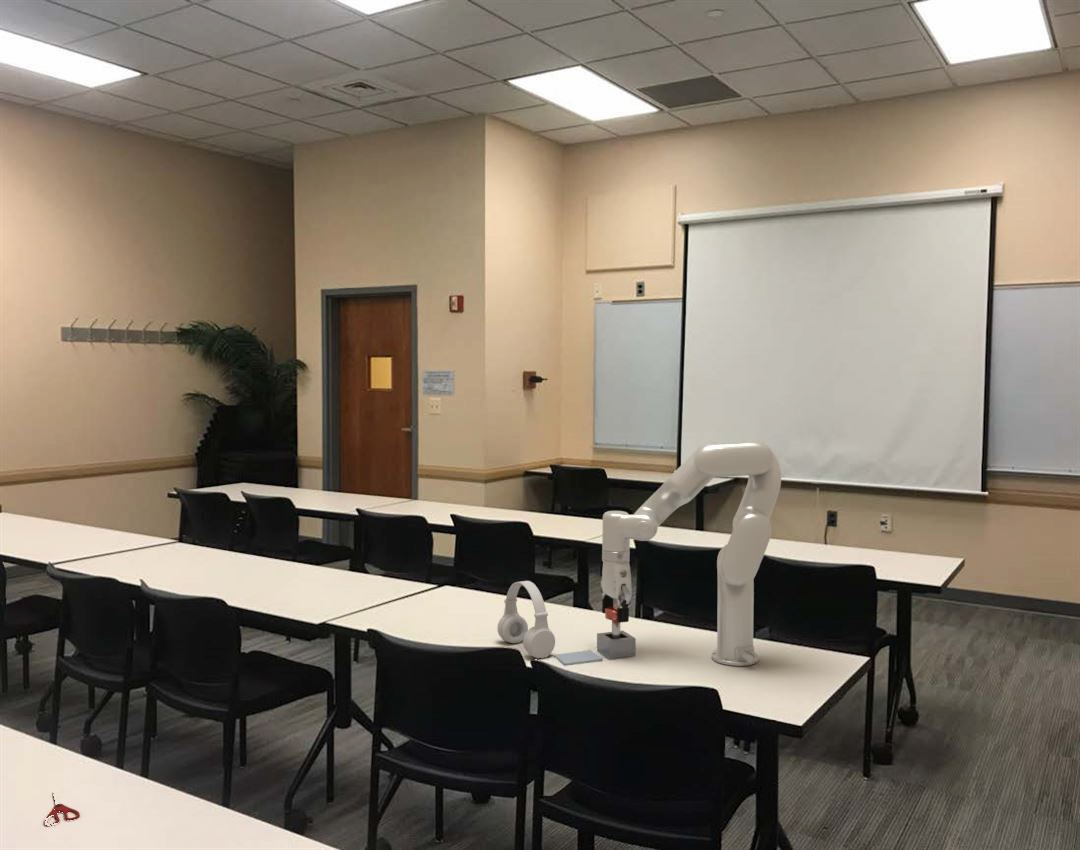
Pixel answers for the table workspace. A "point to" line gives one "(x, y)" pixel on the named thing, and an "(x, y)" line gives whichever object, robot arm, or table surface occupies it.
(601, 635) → the eye block
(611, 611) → the red capped metal cylinder
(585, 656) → the pad
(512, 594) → the headphones
